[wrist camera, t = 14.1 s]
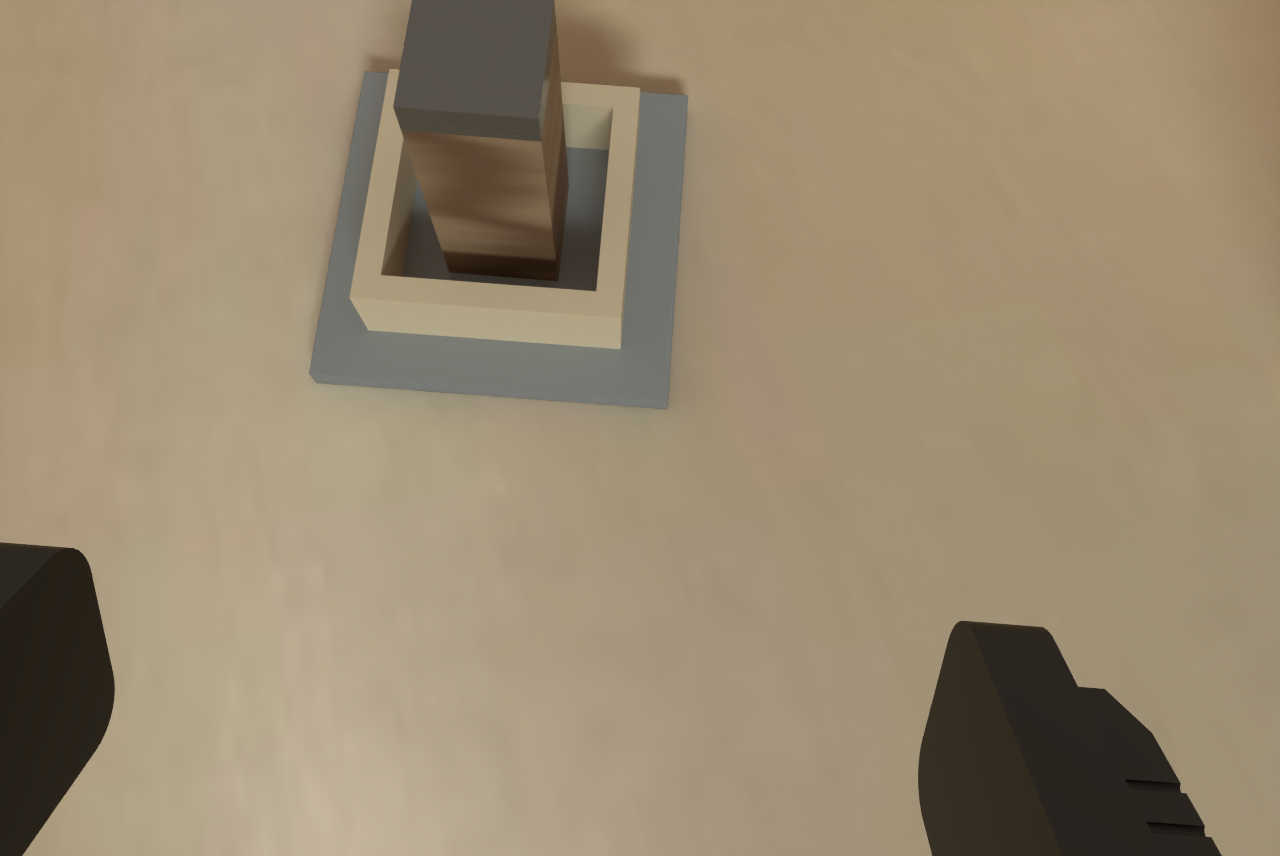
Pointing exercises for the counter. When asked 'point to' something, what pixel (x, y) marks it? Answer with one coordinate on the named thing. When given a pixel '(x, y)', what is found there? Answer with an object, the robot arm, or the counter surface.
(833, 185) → the counter surface
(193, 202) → the counter surface
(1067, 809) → the robot arm
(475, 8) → the tall grey-topped block
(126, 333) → the counter surface
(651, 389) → the jig
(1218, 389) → the counter surface
